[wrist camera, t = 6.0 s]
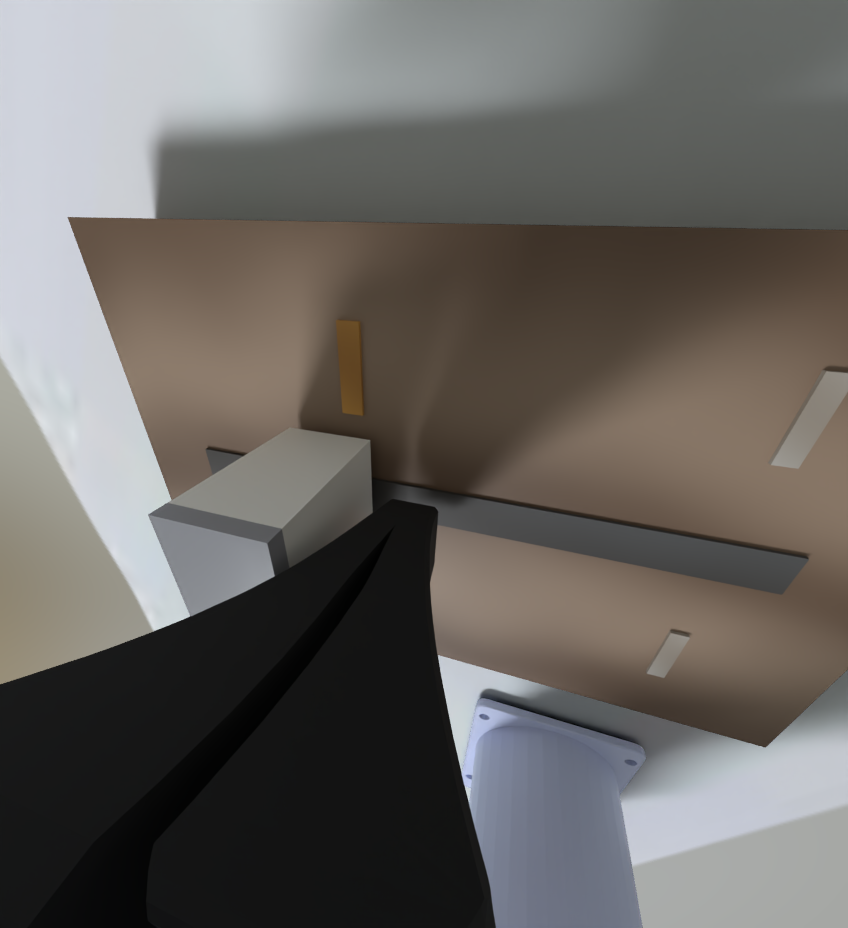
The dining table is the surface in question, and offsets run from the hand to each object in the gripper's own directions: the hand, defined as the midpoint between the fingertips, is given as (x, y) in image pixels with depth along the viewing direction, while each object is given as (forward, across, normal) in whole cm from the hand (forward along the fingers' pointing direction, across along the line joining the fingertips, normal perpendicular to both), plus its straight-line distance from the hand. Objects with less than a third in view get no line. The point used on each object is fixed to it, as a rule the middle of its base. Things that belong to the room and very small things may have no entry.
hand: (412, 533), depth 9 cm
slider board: (+4, -1, 0) cm, 4 cm away
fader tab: (+1, +3, 0) cm, 3 cm away
